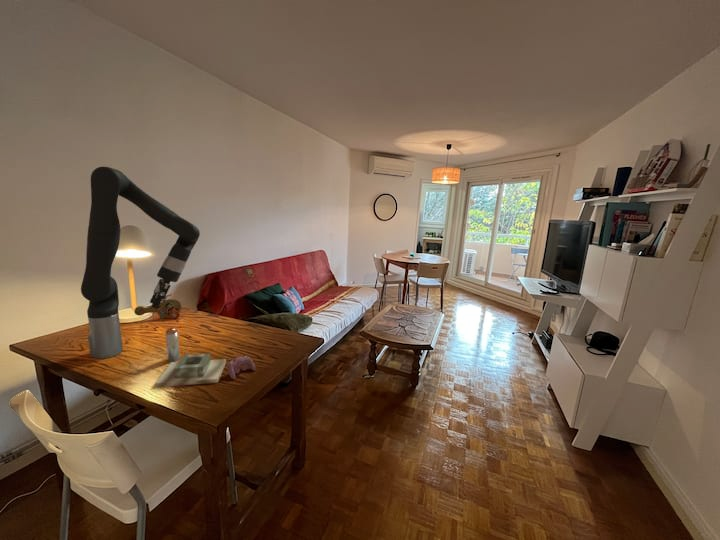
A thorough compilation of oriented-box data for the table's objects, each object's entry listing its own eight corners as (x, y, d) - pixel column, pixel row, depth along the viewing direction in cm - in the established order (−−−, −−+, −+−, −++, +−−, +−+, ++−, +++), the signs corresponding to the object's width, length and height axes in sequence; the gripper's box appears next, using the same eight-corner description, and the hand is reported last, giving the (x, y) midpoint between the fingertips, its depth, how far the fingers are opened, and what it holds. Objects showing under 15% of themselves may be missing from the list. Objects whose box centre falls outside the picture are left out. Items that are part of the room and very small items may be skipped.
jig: (155, 387, 99) (154, 372, 98) (171, 365, 113) (170, 352, 111) (217, 382, 104) (217, 369, 103) (226, 362, 117) (225, 350, 116)
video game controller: (251, 370, 116) (247, 353, 116) (257, 369, 113) (252, 352, 114) (227, 380, 108) (223, 362, 109) (233, 380, 105) (228, 361, 106)
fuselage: (166, 362, 115) (163, 330, 112) (170, 357, 118) (167, 325, 116) (177, 361, 116) (174, 329, 113) (181, 356, 119) (178, 325, 117)
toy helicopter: (182, 318, 157) (180, 294, 154) (134, 324, 146) (132, 299, 143) (181, 313, 164) (180, 290, 161) (136, 319, 152) (133, 294, 150)
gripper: (160, 263, 120) (141, 299, 118) (163, 267, 110) (143, 306, 107) (179, 270, 125) (161, 304, 122) (184, 274, 114) (165, 312, 111)
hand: (153, 305), depth 115 cm, fingers open, 8 cm apart
